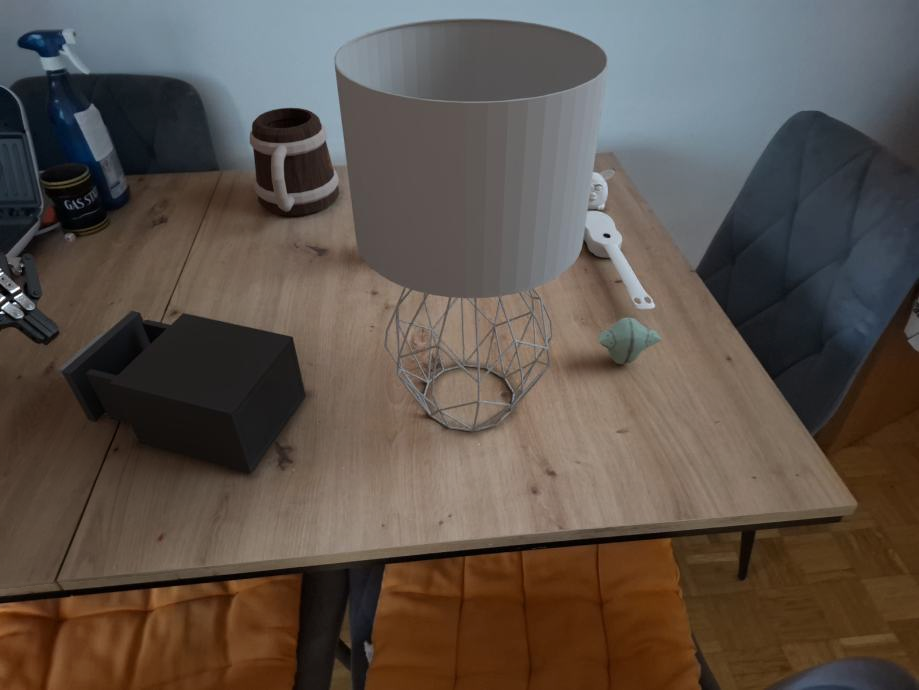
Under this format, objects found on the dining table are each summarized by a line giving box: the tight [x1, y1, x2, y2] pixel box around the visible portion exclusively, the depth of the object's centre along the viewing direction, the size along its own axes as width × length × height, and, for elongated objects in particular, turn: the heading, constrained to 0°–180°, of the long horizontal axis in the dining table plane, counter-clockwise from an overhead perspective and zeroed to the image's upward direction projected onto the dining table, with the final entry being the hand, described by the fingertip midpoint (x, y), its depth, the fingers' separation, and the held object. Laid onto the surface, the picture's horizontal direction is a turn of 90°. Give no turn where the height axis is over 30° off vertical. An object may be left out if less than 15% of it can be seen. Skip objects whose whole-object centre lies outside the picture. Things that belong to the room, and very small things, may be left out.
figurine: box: [587, 169, 615, 212], centre depth 114 cm, size 8×6×7 cm
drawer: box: [56, 310, 171, 425], centre depth 75 cm, size 18×11×8 cm, turn 72°
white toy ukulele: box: [583, 210, 656, 311], centre depth 99 cm, size 28×6×3 cm, turn 7°
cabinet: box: [110, 312, 307, 475], centre depth 72 cm, size 15×13×10 cm
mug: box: [249, 107, 340, 217], centre depth 111 cm, size 20×15×15 cm
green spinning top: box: [598, 316, 663, 365], centre depth 81 cm, size 8×4×7 cm, turn 93°
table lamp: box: [333, 17, 610, 432], centre depth 65 cm, size 22×22×40 cm
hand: (53, 339), depth 76 cm, fingers closed
